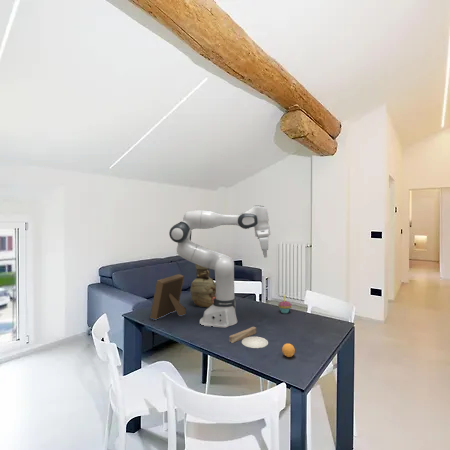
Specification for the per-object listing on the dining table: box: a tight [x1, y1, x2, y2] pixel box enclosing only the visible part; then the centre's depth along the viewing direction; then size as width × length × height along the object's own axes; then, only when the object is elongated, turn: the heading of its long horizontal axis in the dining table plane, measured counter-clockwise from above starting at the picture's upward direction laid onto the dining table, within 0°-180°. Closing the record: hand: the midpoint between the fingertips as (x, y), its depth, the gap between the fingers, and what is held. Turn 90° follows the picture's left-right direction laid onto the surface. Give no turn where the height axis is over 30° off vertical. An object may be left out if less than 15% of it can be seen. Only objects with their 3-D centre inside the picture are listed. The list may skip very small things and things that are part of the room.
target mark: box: [241, 336, 269, 349], centre depth 143 cm, size 13×13×1 cm
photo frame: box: [149, 273, 186, 319], centre depth 182 cm, size 15×22×25 cm
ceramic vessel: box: [189, 263, 216, 309], centre depth 207 cm, size 19×21×30 cm
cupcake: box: [277, 293, 292, 314], centre depth 188 cm, size 9×8×12 cm
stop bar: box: [228, 326, 257, 344], centre depth 149 cm, size 2×18×3 cm, turn 133°
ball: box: [281, 343, 296, 358], centre depth 128 cm, size 6×6×6 cm
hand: (265, 256), depth 169 cm, fingers open, 8 cm apart
